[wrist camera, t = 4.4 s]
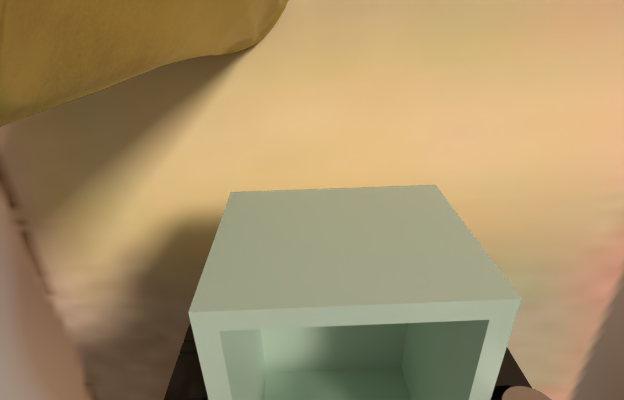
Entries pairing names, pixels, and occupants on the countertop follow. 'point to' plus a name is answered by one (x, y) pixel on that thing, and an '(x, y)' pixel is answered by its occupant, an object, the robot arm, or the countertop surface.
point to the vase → (112, 43)
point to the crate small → (349, 299)
